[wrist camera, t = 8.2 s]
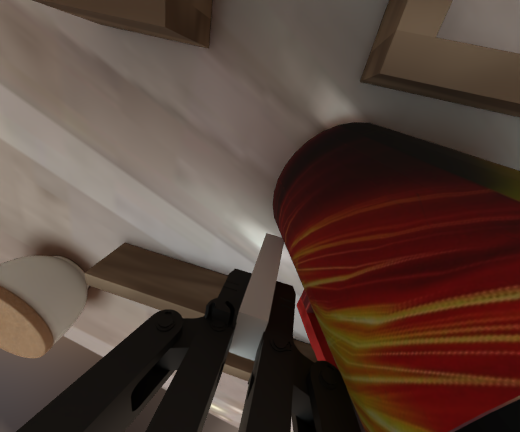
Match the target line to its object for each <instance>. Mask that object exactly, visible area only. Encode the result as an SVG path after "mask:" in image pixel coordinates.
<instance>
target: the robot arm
mask: <svg viewBox="0 0 520 432" xmlns="http://www.w3.org/2000/svg"><path fill="white" fill-rule="evenodd" d="M283 244H284V240H283V238H281V237H277V236H274V235H271V234H267V233H266V236H265V239H264V242H263V245H262V247H261V250H260V253H259V256H258V259H257V261H256V264H255V267H254V270H253V273H252V274H251V273H248V272H245V271H242V270H239V269H235V270H233V271H232V272H231V273H229V275H228V277H227V279H226V282H225V283H224V285H223V287H222V289H221V292H220V294H219V296H218V298H214V299H212V300H211V301H209V303H208V304H207V305H206V311H205V315H204V316H203V317H199V318H182V315H181V314H180V313H179V312H177V311H175V310H171V309H165V310H162V311H159V312H157V313H155V314H154V315H153V316H151V317H150V318H149V319H148V320H147V321H145V322H144V323H143V324H142V325H141V326H140V327H138V328H137V329H136V330H135V331H134V332H133V333H131V334H130V335H129V336H128V337H127V338H125V339H124V340H123V341H122V342H121V343H120V344H118V345H117V346H116V347H115V348H114V349H113V350H111V351H110V352H109V353H108V354H107V355H106V356H104V357H103V358H102V359H101V360H100V361H99V362H97V363H96V364H95V365H94V366H93V367H92V368H90V369H89V370H88V371H87V372H86V373H85V374H83V375H82V376H81V377H80V378H79V379H77V380H76V381H75V382H74V383H73V384H71V385H70V386H69V387H68V388H67V389H66V390H64V391H63V392H62V393H61V394H60V395H59V396H57V397H56V398H55V399H54V400H53V401H51V402H50V403H49V404H48V405H47V406H46V407H44V408H43V409H42V410H41V411H40V412H39V413H37V414H36V415H35V416H34V417H33V418H32V419H30V420H29V421H28V422H27V423H26V424H25V425H24V426H22V427H21V428H20V429H19V430H17V431H16V432H125V430H126V429H127V428H128V427H129V426H130V425H131V423H132V422H133V421H134V419H135V418H136V417H137V416H138V415H139V413H140V412H141V411H142V410H143V409H144V407H145V406H146V405H147V403H148V402H149V401H150V400H151V399H152V398H153V396H154V395H155V394H156V393H157V392H158V390H159V389H160V388H161V387H162V386H163V384H164V383H165V382H166V381H167V379H168V378H169V377H170V376H171V375H172V373H173V372H174V371H175V370H177V372H176V374H175V376H174V378H173V380H172V382H171V383H170V385H169V387H168V389H167V391H166V393H165V395H164V397H163V399H162V401H161V403H160V405H159V407H158V408H157V410H156V412H155V414H154V416H153V418H152V420H151V422H150V424H149V426H148V428H147V430H146V432H202V429H203V426H204V423H205V420H206V418H207V414H208V412H209V409H210V406H211V403H212V400H213V397H214V394H215V391H216V389H217V386H218V383H219V380H220V377H221V374H222V371H223V368H224V365H225V362H226V358H227V355H228V352H230V353H233V354H236V355H238V356H241V357H244V358H247V359H250V360H253V361H254V360H255V361H254V365H253V370H252V373H251V376H250V378H249V381H248V384H249V386H248V390H247V395H246V400H245V404H244V409H243V414H242V418H241V423H240V427H239V432H290V430H291V416H292V424H293V431H294V432H361V429H360V426H359V423H358V420H357V417H356V414H355V411H354V408H353V405H352V402H351V399H350V396H349V393H348V390H347V387H346V385H345V382H344V380H343V378H342V375H341V373H340V371H339V370H338V369H337V368H336V367H335V366H334V365H332V364H331V363H329V362H327V361H323V360H321V361H316V362H315V363H314V362H313V361H311V360H310V359H308V358H307V357H306V356H304V355H303V354H302V353H301V352H300V351H299V350H298V349H297V347H296V345H295V344H294V341H293V323H294V309H295V297H296V293H295V291H294V288H293V286H291V285H288V284H284V283H281V282H278V281H276V280H277V275H278V270H279V265H280V260H281V254H282V249H283Z"/></svg>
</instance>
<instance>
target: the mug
mask: <svg viewBox="0 0 520 432" xmlns="http://www.w3.org/2000/svg"><path fill="white" fill-rule="evenodd" d="M273 211H274V218H275V220H276V223H277V226H278V228H279V231H280V233H281V235H282V238H283V240H284V242H285V245H286V247H287V249H288V252H289V254H290V257H291V259H292V261H293V264H294V266H295V268H296V271H297V273H298V275H299V278H300V280H301V282H302V285H303V287H304V291H303V293H302V295H301V297H300V299H299V301H298V303H297V308H298V311H299V313H300V316H301V319H302V322H303V324H304V327H305V330H306V333H307V335H308V338H309V341H310V344H311V346H312V349H313V350H314V352H315V355H316V358H317V361H321V360H323V361H327V362H329V363H331V364H332V365H334V366H335V367H336V368H337V369H338V370H339V371H340V373H341V375H342V378H343V380H344V382H345V385H346V387H347V390H348V393H349V396H350V399H351V402H352V405H353V408H354V411H355V414H356V417H357V420H358V423H359V426H360V429H361V432H520V171H518V170H515V169H512V168H509V167H506V166H502V165H499V164H496V163H493V162H490V161H487V160H484V159H481V158H478V157H475V156H471V155H468V154H465V153H462V152H459V151H456V150H453V149H450V148H447V147H443V146H440V145H437V144H434V143H431V142H428V141H425V140H422V139H419V138H415V137H412V136H409V135H406V134H403V133H400V132H397V131H394V130H391V129H388V128H384V127H381V126H378V125H374V124H371V123H357V122H354V123H348V124H343V125H338V126H336V127H333V128H331V129H328V130H326V131H323V132H321V133H320V134H318V135H317V136H315V137H314V138H312V139H310V140H309V141H308V142H306V143H305V144H304V145H303V146H302V147H301V148H300V149H299V150H298V151H296V152H295V154H294V155H293V156H292V158H291V159H290V160H289V161H288V163H287V164H286V165H285V167H284V169H283V171H282V173H281V175H280V176H279V178H278V181H277V185H276V188H275V191H274V198H273Z"/></svg>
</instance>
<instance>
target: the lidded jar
mask: <svg viewBox="0 0 520 432" xmlns="http://www.w3.org/2000/svg"><path fill="white" fill-rule="evenodd" d="M88 288H89V285H87V283H86V279H85V275H84V271H83V270H82V269H81V268H80V267H79V266H78V265H77V264H75V263H74V262H73V261H71V260H69V259H67V258H65V257H62V256H52V257H51V256H41V255H36V256H25V257H20V258H16V259H13V260H10V261H7V262H4V263H1V264H0V348H1V349H3V350H6V351H7V352H10V353H12V354H15V355H18V356H21V357H26V358H38V357H41V356H43V355H44V354H45V353H46V352H48V351H49V350H50V349H51V347H52V346H53V344H54V343H55V342H57V341H58V340H59V339H60V338H61V337H62V336H63V335H64V334H65V333H66V332H67V331H68V330H69V329H70V327H71V326H72V325H73V324H74V323H75V321H76V320H77V319H78V317H79V316H80V314H81V313H82V311H83V309H84V307H85V304H86V301H87V290H88Z"/></svg>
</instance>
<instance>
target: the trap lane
mask: <svg viewBox="0 0 520 432" xmlns="http://www.w3.org/2000/svg"><path fill="white" fill-rule="evenodd" d="M33 1H36V2H39V3H41V4H44V5H47V6H50V7H53V8H56V9H58V10H61V11H64V12H67V13H70V14H73V15H75V16H78V17H81V18H84V19H87V20H90V21H92V22H95V23H98V24H101V25H105V26H110V27H114V28H119V29H124V30H128V31H133V32H137V33H142V34H146V35H151V36H155V37H160V38H164V39H169V40H173V41H178V42H182V43H187V44H191V45H196V46H200V47H205V48H209V39H210V26H211V13H212V0H33ZM452 1H453V0H389V3H388V5H387V8H386V11H385V14H384V16H383V19H382V22H381V25H380V28H379V30H378V33H377V36H376V39H375V41H374V44H373V47H372V50H371V52H370V55H369V58H368V61H367V64H366V66H365V69H364V72H363V75H362V77H361V80H360V82H363V83H368V84H372V85H377V86H381V87H386V88H390V89H395V90H399V91H404V92H408V93H413V94H417V95H422V96H426V97H431V98H435V99H440V100H445V101H449V102H454V103H458V104H463V105H467V106H472V107H476V108H481V109H485V110H490V111H494V112H499V113H503V114H508V115H512V116H517V117H520V54H517V53H512V52H507V51H502V50H497V49H492V48H487V47H482V46H477V45H471V44H466V43H461V42H456V41H451V40H446V39H441V38H436V35H437V33H438V31H439V29H440V27H441V25H442V22H443V20H444V18H445V16H446V14H447V12H448V9H449V7H450V5H451V3H452ZM84 275H85V279H86V283H87V285H89V286H92V287H95V288H98V289H101V290H104V291H106V292H109V293H112V294H115V295H118V296H121V297H124V298H127V299H130V300H133V301H135V302H138V303H141V304H144V305H147V306H150V307H153V308H156V309H159V310H165V309H171V310H175V311H177V312H179V313H180V314H181V315H182V318H199V317H203V316H204V315H205V311H206V305H207V304H208V303H209V301H211V300H212V299H214V298H218V296H219V294H220V292H221V289H222V287H223V285H224V283H225V282H226V279H227V277H228V276H227V275H224V274H220V273H217V272H214V271H211V270H208V269H205V268H202V267H199V266H195V265H192V264H189V263H186V262H183V261H180V260H177V259H173V258H170V257H167V256H164V255H161V254H158V253H155V252H152V251H148V250H145V249H142V248H139V247H136V246H133V245H130V244H127V243H124V244H122V245H121V246H120V247H118V248H117V249H116V250H114V251H113V252H112V253H110V254H109V255H108V256H106V257H105V258H104V259H102V260H101V261H100V262H98V263H97V264H96V265H94V266H93V267H91V268H90V269H89V270H87V271H86V272H85V273H84ZM293 341H294V344H295V345H296V347H297V349H298V350H299V351H300V352H301V353H302V354H303V355H304V356H306V357H307V358H308V359H310V360H311V361H313V362H314V363H315V362H316V361H317V358H316V355H315V352H314V350H313V349H312V346H311V345H310V344H307V343H304V342H301V341H298V340H295V339H293ZM254 361H255V360H254ZM254 361H253V360H250V359H247V358H244V357H241V356H238V355H236V354H233V353H230V352H228V355H227V358H226V362H225V365H224V368H223V371H222V372H224V373H227V374H229V375H232V376H235V377H238V378H240V379H243V380H246V381H249V378H250V376H251V373H252V370H253V365H254Z"/></svg>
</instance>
